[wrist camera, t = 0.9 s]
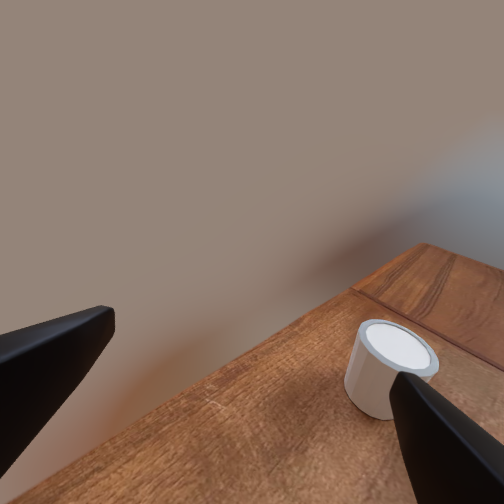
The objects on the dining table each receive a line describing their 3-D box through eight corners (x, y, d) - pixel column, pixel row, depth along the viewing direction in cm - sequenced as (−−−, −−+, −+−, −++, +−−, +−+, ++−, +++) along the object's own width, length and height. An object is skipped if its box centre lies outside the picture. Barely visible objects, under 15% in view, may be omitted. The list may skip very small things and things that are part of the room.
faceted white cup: (416, 398, 27) (448, 350, 24) (392, 444, 22) (427, 392, 19) (356, 355, 31) (376, 309, 28) (325, 386, 26) (345, 335, 23)
